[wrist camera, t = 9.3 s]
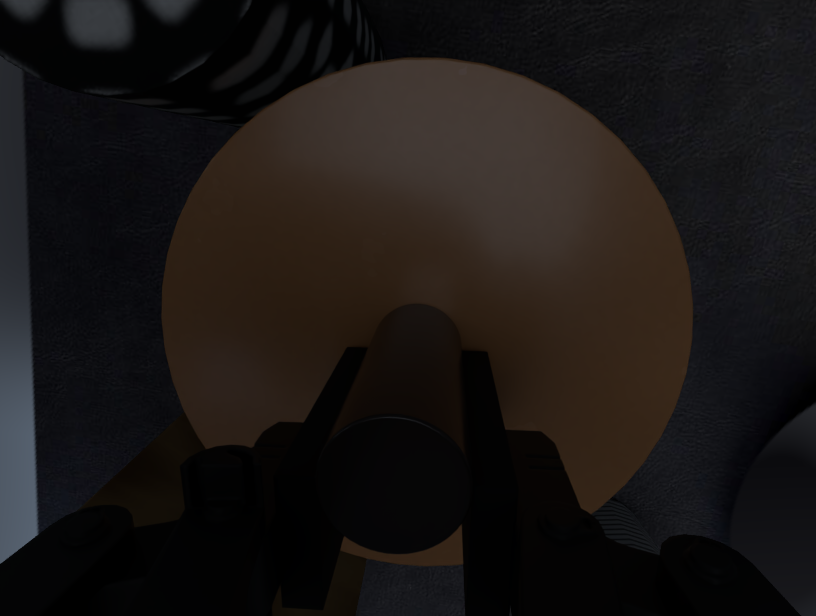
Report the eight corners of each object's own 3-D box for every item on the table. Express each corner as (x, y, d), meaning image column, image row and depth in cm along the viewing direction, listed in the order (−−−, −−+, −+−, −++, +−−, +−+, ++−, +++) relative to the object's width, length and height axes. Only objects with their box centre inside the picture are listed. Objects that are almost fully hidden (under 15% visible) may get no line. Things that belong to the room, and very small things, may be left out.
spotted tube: (387, -10, 29) (269, -388, 9) (384, 145, 31) (283, 100, 11) (243, -12, 29) (-154, -374, 10) (250, 141, 31) (-64, 90, 12)
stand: (173, 487, 38) (-245, 972, 15) (240, 359, 35) (-155, 723, 12) (312, 561, 39) (120, 1128, 16) (390, 444, 36) (292, 934, 13)
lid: (90, 386, 17) (-186, 552, 9) (344, -70, 13) (209, -390, 6) (470, 628, 18) (485, 936, 11) (804, 283, 14) (1182, 400, 7)
